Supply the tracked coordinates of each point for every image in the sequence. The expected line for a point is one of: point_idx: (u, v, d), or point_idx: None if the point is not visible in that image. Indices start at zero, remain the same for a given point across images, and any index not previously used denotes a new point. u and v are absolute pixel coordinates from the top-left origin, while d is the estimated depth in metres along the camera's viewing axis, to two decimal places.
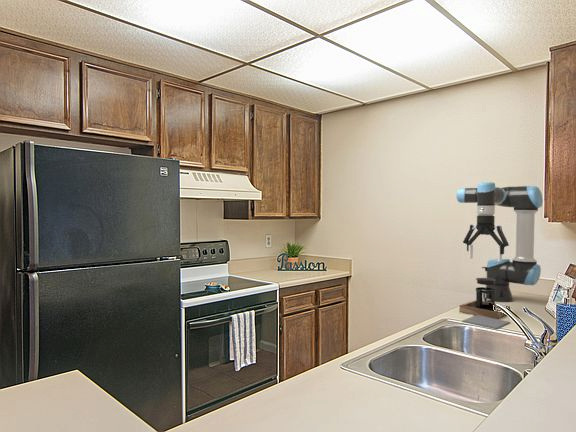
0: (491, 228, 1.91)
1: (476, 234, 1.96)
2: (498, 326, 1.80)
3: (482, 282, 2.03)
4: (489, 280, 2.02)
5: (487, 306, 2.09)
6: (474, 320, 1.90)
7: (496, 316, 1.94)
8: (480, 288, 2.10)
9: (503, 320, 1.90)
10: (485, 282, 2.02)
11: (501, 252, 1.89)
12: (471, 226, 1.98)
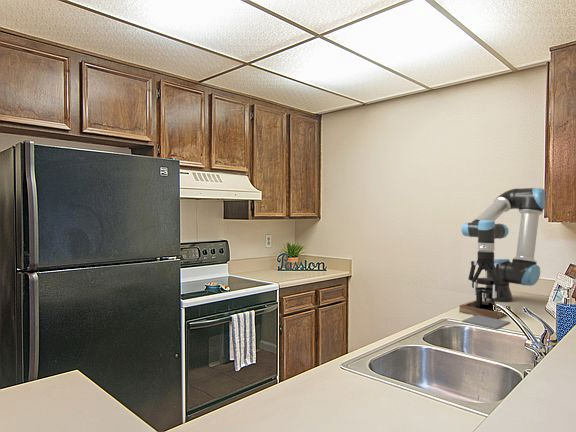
0: (491, 264, 2.02)
1: (478, 270, 2.06)
2: (498, 326, 1.80)
3: (482, 282, 2.03)
4: (489, 280, 2.02)
5: (487, 306, 2.09)
6: (474, 320, 1.90)
7: (496, 316, 1.94)
8: (480, 288, 2.10)
9: (503, 320, 1.90)
10: (485, 282, 2.02)
11: (496, 289, 2.01)
12: (472, 262, 2.09)
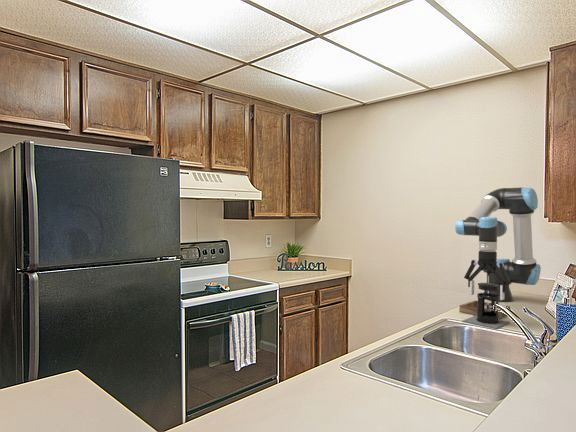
0: (493, 265, 1.85)
1: (478, 270, 1.90)
2: (498, 326, 1.80)
3: (484, 288, 1.86)
4: (492, 285, 1.85)
5: (489, 313, 1.92)
6: (474, 320, 1.90)
7: None
8: (482, 294, 1.93)
9: (503, 320, 1.90)
10: (488, 288, 1.85)
11: (503, 290, 1.82)
12: (472, 261, 1.92)
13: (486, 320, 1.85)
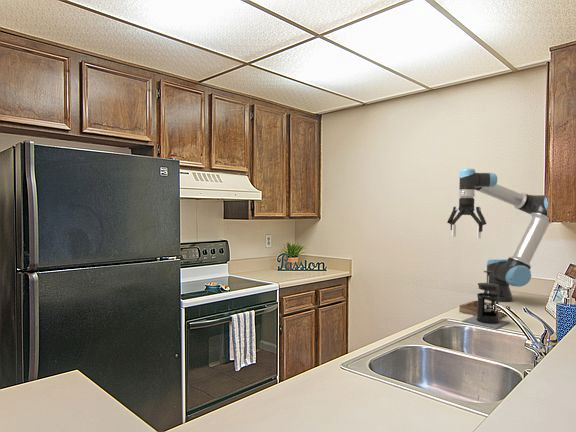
0: (471, 209, 2.17)
1: (458, 215, 2.22)
2: (498, 326, 1.80)
3: (484, 288, 1.86)
4: (492, 285, 1.85)
5: (489, 314, 1.92)
6: (474, 320, 1.90)
7: None
8: (482, 294, 1.93)
9: (503, 320, 1.90)
10: (488, 288, 1.85)
11: (480, 230, 2.14)
12: (454, 208, 2.24)
13: (486, 320, 1.85)
